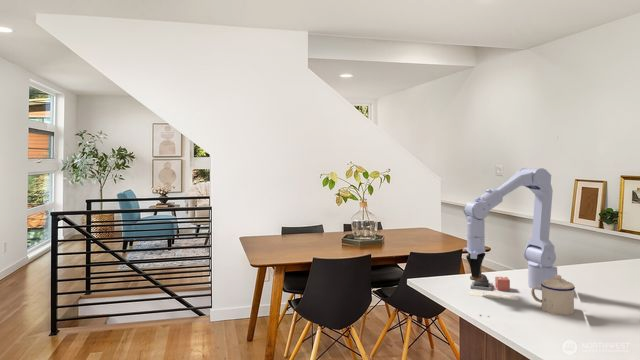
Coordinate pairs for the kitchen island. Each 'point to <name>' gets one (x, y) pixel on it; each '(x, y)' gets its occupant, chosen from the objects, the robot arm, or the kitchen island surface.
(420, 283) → the kitchen island surface
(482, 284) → the dark gray round knob
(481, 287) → the board
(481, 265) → the flanged wooden peg
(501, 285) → the die
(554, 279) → the teacup with lid
